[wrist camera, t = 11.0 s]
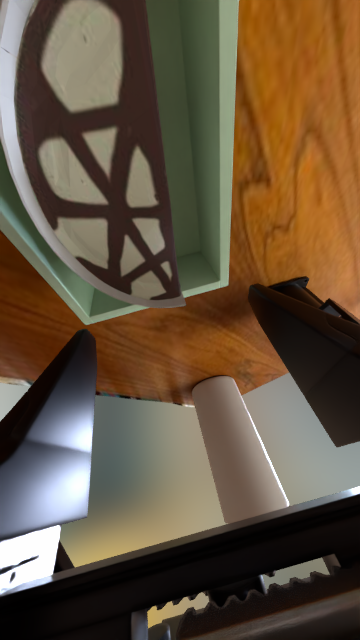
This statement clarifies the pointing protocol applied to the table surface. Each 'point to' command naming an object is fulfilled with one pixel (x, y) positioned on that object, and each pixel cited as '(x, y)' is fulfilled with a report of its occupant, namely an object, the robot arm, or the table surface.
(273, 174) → the table surface
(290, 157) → the table surface
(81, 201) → the food container
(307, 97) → the table surface
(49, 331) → the table surface
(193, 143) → the light green open box
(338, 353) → the robot arm
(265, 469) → the cylinder vase
